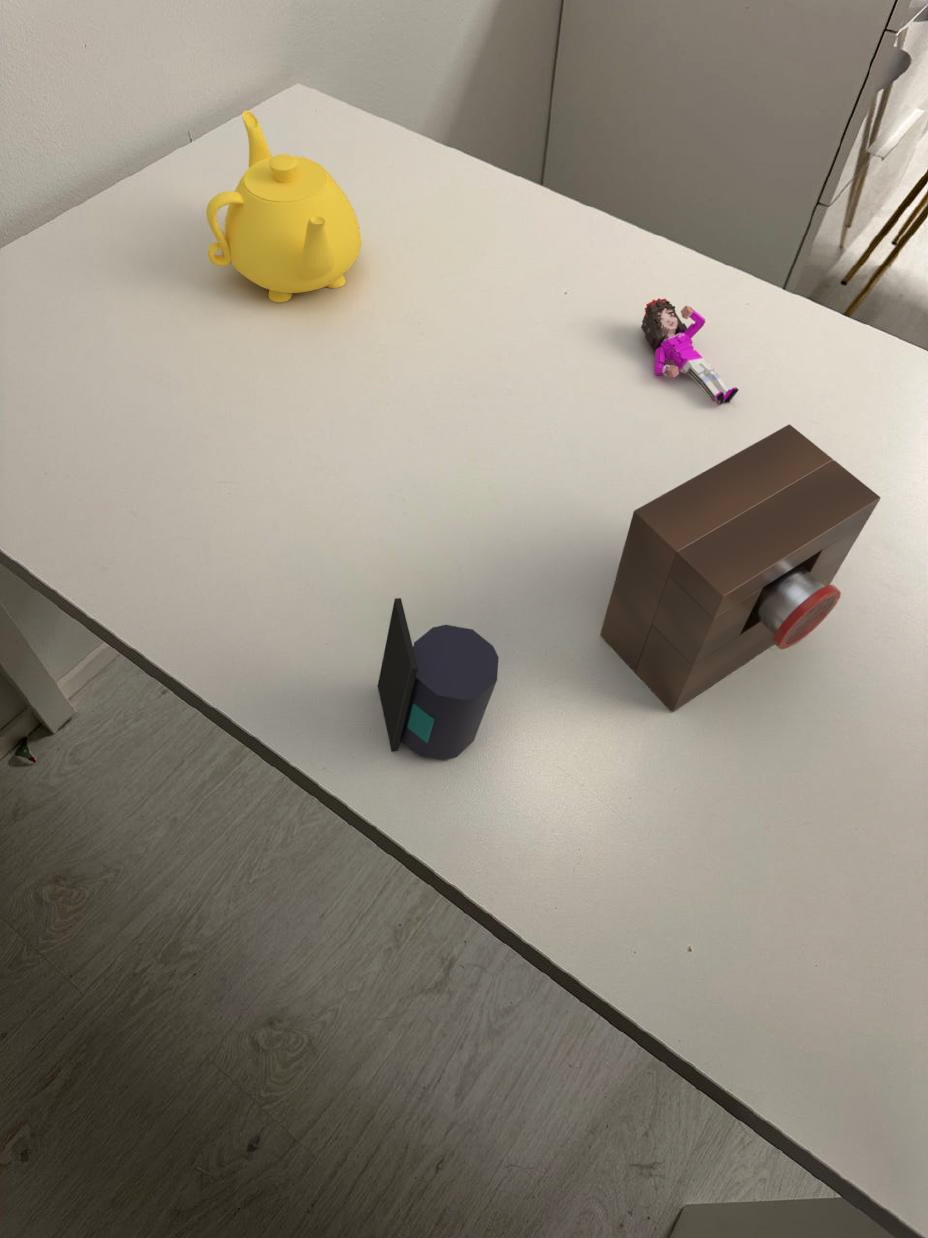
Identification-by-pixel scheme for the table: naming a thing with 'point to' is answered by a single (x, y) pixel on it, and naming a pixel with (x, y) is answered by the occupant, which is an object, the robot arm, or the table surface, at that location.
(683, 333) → the character figurine
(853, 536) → the control box
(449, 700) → the speaker
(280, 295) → the teapot
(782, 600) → the knob
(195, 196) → the table surface
